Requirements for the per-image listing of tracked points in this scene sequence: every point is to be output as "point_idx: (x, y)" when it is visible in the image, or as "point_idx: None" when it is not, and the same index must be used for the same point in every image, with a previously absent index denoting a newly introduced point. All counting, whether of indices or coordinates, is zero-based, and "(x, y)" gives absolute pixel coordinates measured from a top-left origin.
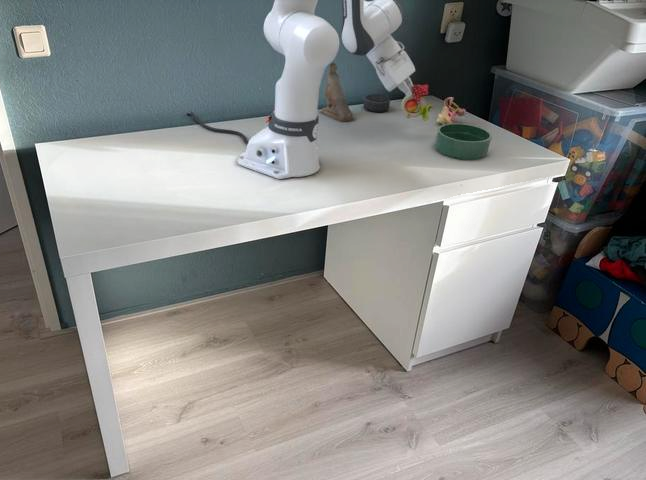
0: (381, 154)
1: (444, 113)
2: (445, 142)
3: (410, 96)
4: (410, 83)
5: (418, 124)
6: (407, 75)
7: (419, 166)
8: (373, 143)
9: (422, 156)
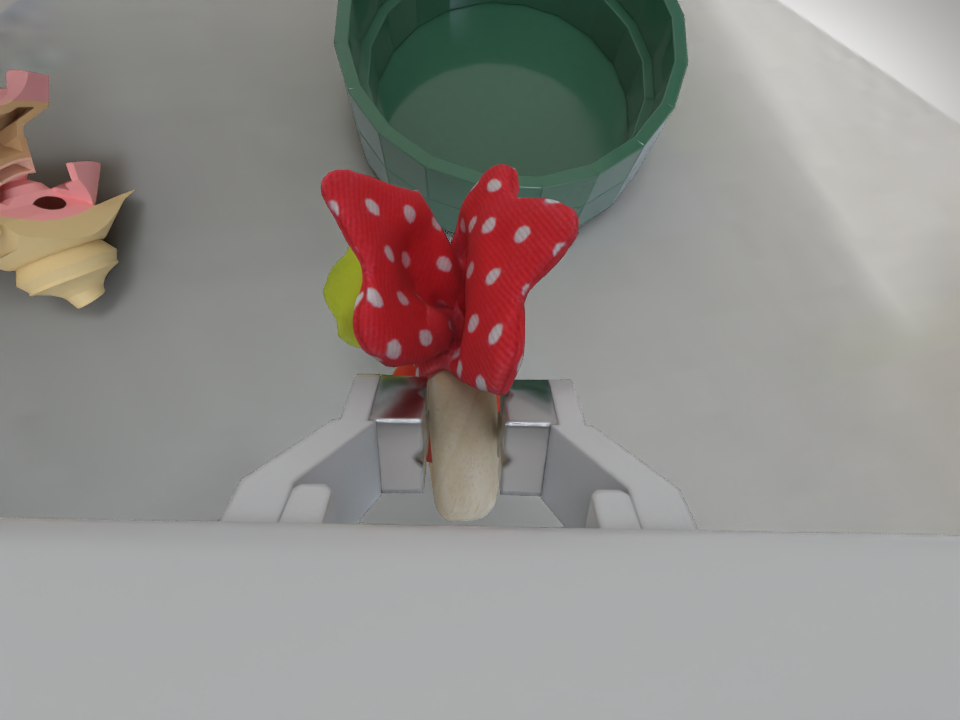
0: (827, 503)
1: (55, 233)
2: (657, 136)
3: (497, 415)
4: (336, 464)
5: (152, 425)
6: (403, 543)
7: (850, 263)
8: None
9: (708, 278)
